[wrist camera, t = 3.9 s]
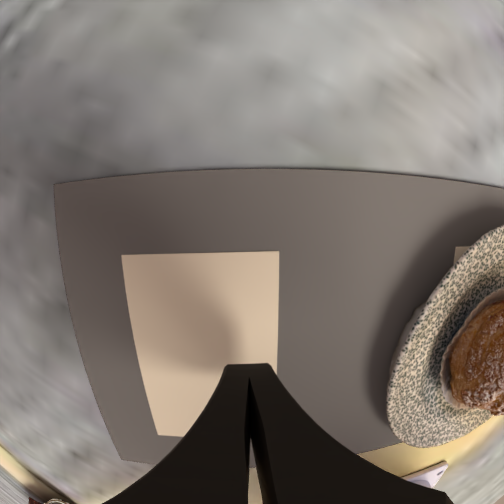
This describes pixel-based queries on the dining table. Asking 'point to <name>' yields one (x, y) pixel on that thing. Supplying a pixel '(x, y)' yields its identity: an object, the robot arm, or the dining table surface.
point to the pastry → (452, 352)
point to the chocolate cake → (51, 503)
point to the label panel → (254, 288)
